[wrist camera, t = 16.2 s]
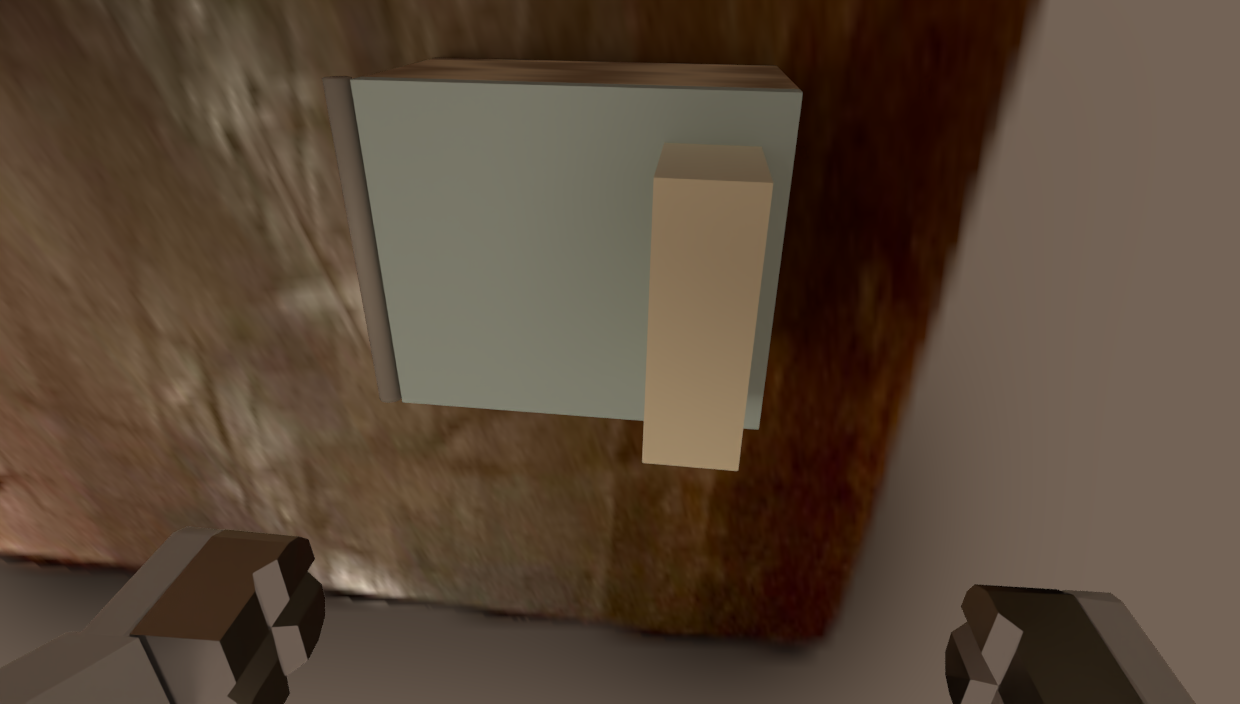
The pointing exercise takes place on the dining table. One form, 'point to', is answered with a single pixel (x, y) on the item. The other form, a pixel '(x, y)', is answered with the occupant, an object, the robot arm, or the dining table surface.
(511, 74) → the crate
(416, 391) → the lid
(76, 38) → the dining table surface
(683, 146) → the tan rectangular block
